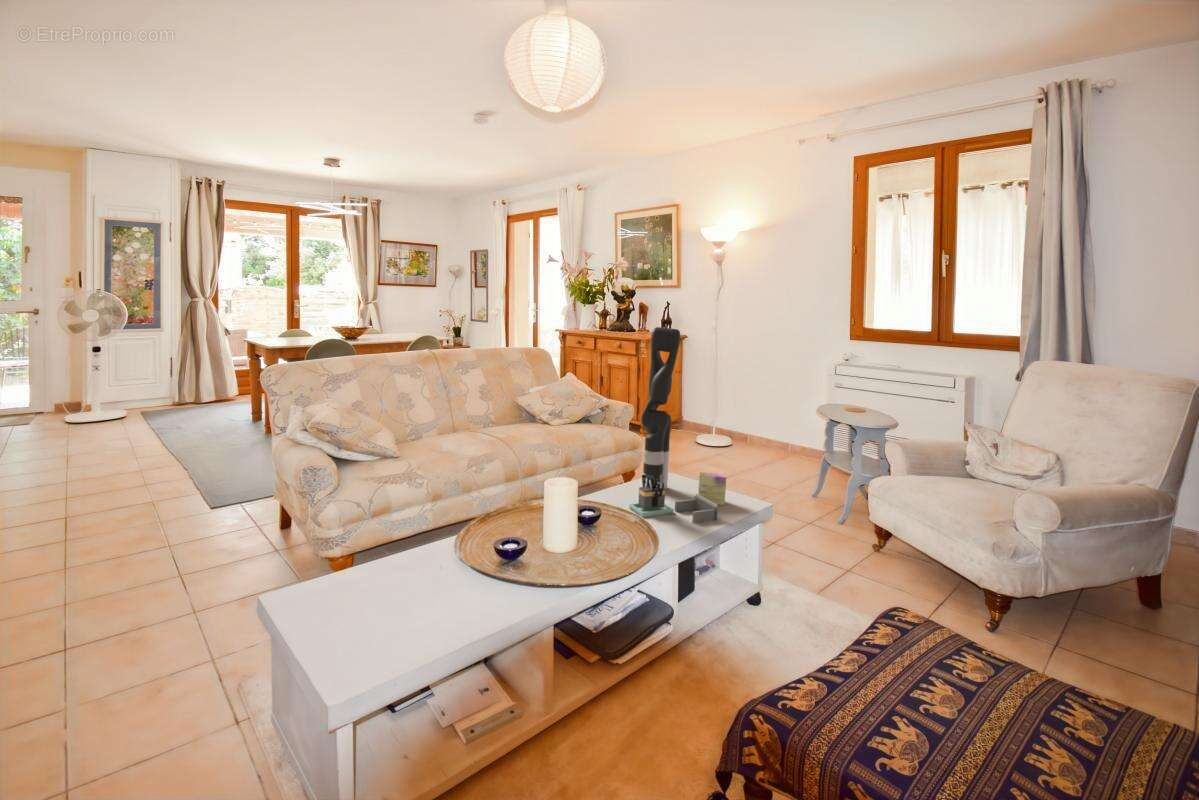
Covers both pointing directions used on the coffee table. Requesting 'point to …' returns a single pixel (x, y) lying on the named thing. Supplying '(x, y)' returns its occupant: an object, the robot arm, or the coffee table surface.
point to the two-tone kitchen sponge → (649, 498)
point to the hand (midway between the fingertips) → (651, 503)
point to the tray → (651, 510)
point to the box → (713, 487)
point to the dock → (698, 508)
